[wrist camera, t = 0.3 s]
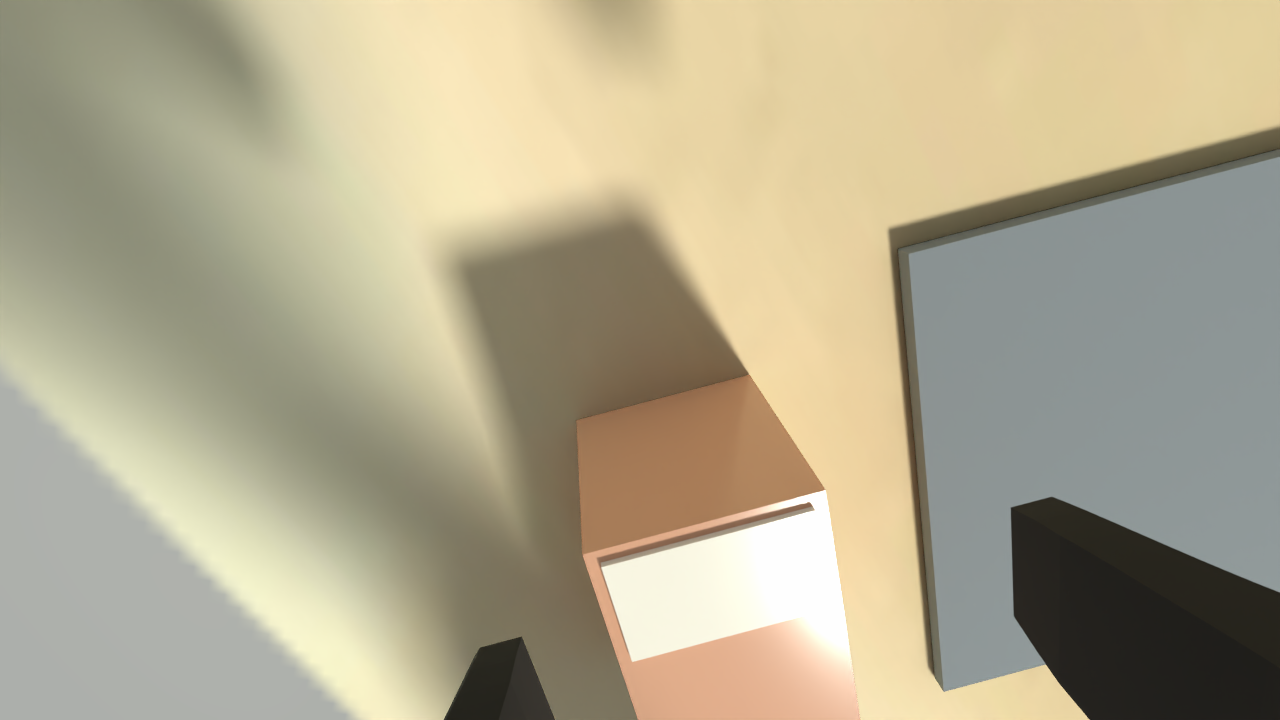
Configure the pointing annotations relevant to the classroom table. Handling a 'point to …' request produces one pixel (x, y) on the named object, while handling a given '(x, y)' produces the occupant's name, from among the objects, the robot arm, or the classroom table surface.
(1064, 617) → the robot arm
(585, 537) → the brick
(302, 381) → the classroom table surface
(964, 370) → the mat
